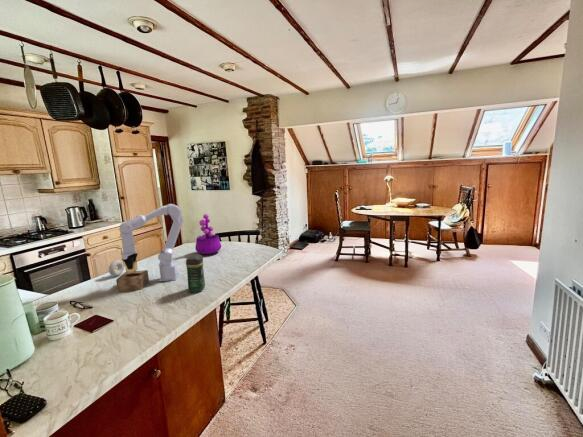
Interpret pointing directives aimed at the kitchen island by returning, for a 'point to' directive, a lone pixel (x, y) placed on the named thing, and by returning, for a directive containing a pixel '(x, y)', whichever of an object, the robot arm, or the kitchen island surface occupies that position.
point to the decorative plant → (207, 238)
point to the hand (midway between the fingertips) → (131, 268)
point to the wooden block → (133, 267)
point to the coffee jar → (195, 273)
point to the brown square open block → (132, 280)
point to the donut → (113, 266)
